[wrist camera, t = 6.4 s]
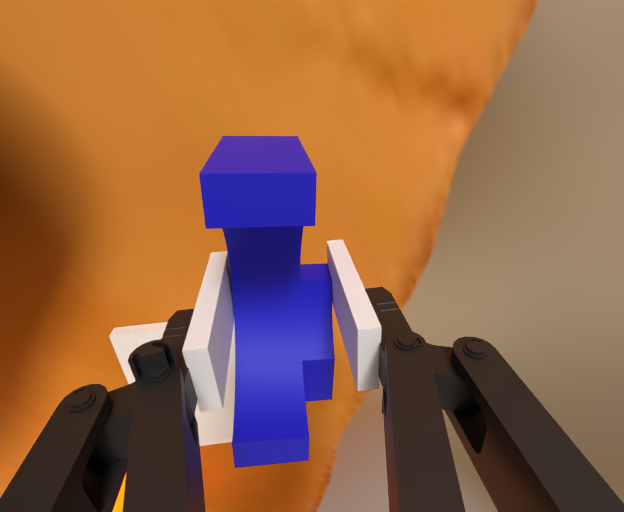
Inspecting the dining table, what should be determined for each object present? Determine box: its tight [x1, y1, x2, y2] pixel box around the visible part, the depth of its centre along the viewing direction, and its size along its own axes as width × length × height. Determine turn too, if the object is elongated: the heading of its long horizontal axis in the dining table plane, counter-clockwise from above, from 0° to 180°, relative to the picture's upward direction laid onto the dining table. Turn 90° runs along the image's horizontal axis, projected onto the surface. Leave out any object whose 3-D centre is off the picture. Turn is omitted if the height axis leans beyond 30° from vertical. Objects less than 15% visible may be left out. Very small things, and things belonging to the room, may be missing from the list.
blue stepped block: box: [199, 136, 335, 468], centre depth 15 cm, size 12×4×6 cm, turn 179°
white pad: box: [109, 322, 235, 446], centre depth 36 cm, size 16×16×1 cm
